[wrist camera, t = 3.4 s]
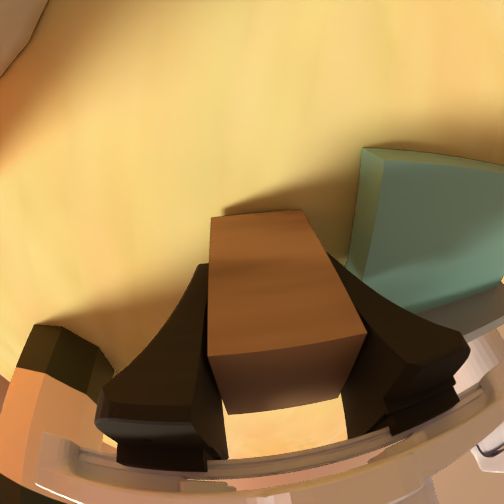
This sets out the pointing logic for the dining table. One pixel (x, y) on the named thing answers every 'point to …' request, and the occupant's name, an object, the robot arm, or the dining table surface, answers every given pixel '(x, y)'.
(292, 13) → the dining table surface
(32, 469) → the wine bottle
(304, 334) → the walnut block
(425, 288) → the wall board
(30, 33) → the flask
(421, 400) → the robot arm
